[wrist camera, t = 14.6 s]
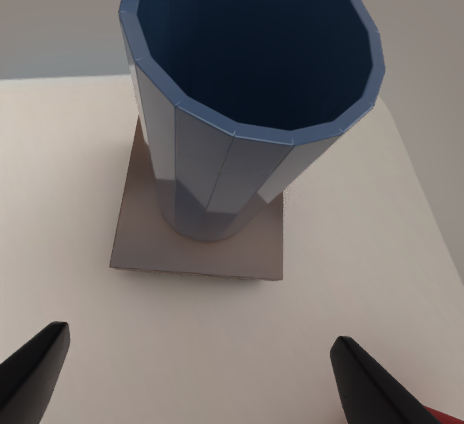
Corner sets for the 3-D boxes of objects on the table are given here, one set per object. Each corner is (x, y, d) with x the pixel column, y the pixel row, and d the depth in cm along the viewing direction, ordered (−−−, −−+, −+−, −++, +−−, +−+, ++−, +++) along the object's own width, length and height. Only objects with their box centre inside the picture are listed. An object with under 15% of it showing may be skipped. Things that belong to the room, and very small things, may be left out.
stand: (264, 281, 22) (282, 280, 18) (121, 271, 20) (108, 267, 16) (267, 160, 25) (283, 136, 21) (145, 141, 23) (139, 111, 19)
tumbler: (174, 255, 17) (171, 176, 5) (144, 160, 18) (88, -76, 6) (268, 224, 19) (427, 113, 7) (235, 140, 20) (322, -72, 8)
